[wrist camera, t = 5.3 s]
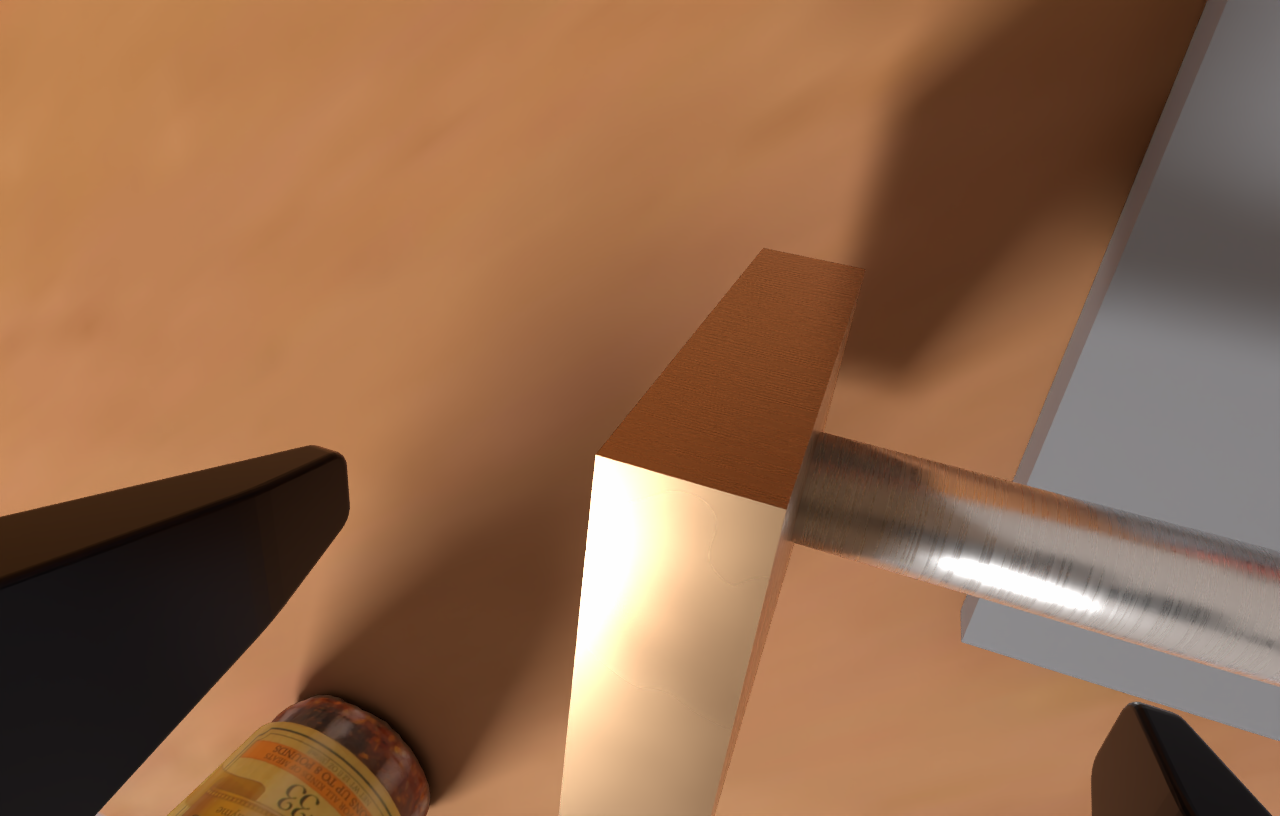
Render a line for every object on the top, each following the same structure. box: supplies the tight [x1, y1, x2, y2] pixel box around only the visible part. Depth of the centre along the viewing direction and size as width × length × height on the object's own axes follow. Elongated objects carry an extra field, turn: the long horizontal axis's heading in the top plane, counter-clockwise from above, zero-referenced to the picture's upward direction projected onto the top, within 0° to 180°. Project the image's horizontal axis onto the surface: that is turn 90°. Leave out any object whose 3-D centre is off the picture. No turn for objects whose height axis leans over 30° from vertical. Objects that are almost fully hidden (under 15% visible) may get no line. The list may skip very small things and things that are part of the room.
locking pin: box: [559, 248, 1280, 816], centre depth 9 cm, size 13×5×7 cm, turn 82°
